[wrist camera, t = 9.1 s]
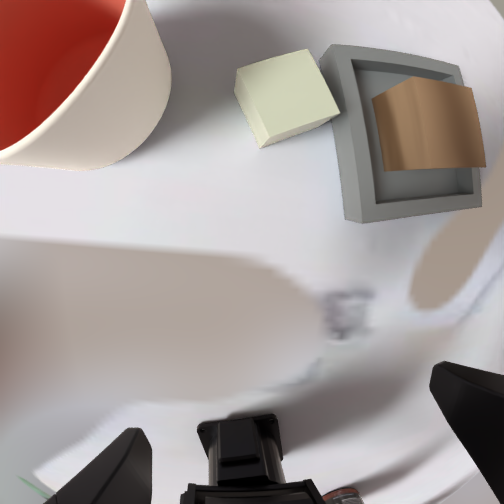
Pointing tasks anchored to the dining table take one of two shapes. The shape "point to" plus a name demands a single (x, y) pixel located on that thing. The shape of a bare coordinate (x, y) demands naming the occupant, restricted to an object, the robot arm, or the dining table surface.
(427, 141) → the walnut cube
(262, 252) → the dining table surface
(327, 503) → the supplement bottle
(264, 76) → the sage cube
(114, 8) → the cup
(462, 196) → the tray
